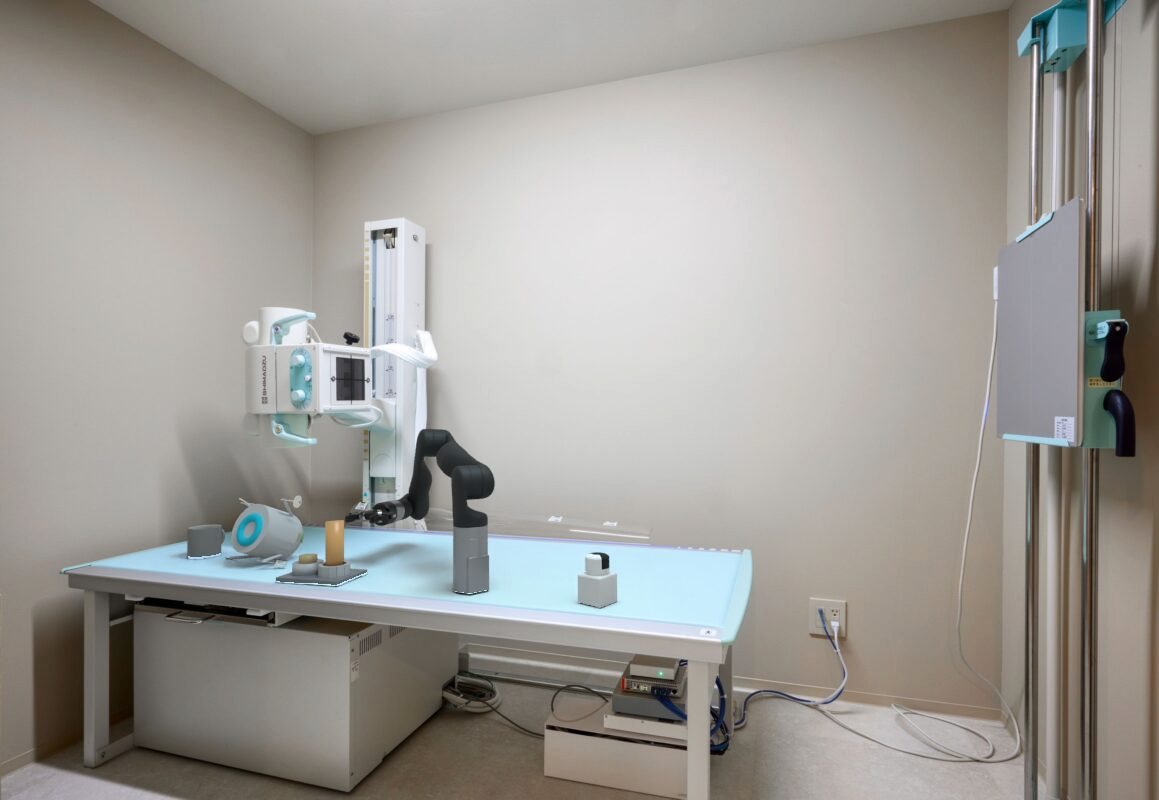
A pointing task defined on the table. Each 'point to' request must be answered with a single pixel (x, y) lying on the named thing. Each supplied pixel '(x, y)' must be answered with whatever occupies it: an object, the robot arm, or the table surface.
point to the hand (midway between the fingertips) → (358, 519)
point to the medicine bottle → (597, 581)
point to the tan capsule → (334, 543)
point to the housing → (319, 571)
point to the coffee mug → (204, 540)
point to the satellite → (267, 532)
